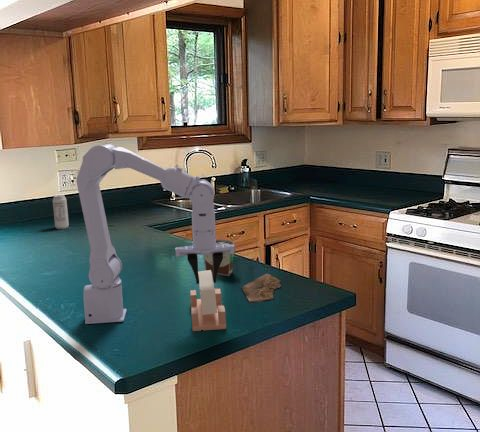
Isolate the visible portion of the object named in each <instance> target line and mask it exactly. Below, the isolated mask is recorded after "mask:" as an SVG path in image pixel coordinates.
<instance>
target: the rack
mask: <svg viewBox="0 0 480 432" xmlns="http://www.w3.org/2000/svg"><path fill="white" fill-rule="evenodd" d="M189 292H190V309H191V312H190V313H191V323H192V325H191V326H192V332H200V331H201V330H203V331H212V330H213V331H214V330H215V331H216V330H225V329H227V320H226V308H225V305H222V292H221V288H215V295H216V306H217V313H214V314H206V315H203V314H202V305H201V298H197V290H196V289H193V290H191V289H190V291H189Z"/></svg>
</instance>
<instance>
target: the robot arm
mask: <svg viewBox="0 0 480 432" xmlns="http://www.w3.org/2000/svg"><path fill="white" fill-rule="evenodd" d="M113 169H115V170H119V169H131V170H134V171H136V172H138V173H141V174H143V175H144V176H145V175H146V176H148V177H151V178H152V179H155V180H157V181H159V182H160V185H161V187H162V188H163V189H165V190H167V191H169V192H170V193H174V194H175V195H177V196H179V197H182V198H184V199H189V201H190V202H191V205H192V207H191V208H192V209H191V210H192V211H191V225H192V227H191V228H192V230H191V232H192V245H185V246H179V247H178V246H177V247H175V248H174V249H175V250H174V252H175V257H177V258H179V257H182V256H183V257H187V261H188V263H189V265H190V268H191V269H192V271H193V274H194V277H195V282H196V285H199V275H198V271H199V266H198V265H199V264H198V263H199V262H198V261H199V260H198V256H204V255H205V254H212V259H213V273H212V277H213V282H214V284H215V283H217V277H218V274H217V273H218V269H219V267H220V264H221V262H222V260H223V253H230V254H233V255H234V254H235V251H234V245H233V244H231V245H225V244H216V239H217V238H216V237H217V236H216V235H217V233H216V211H215V203H214V199H215V194H216V191H215V187H214V185H213V184H212V183H211V182H209V181H208V180H207V179H201V177H200V176H199V175H196V176H194V175H192V174H189V173H187V172H186V171H183V167H180V166H179V165H178V166H177V167H174V166H170V167H167V168H164V167H163V166H162V165H161V166H160V165H159V164H157V163H155V162H153V161H152V160H149V159H147V158H146V157H143V156H142V155H139V154H137V153H135V152H133V151H132V150H130V149H127V148H125V147H122V146H117V145H116V144H113V143H111V142H110V143H109V142H108V143H107V142H106V143H103V144H100V145H94V146H92V147H91V148H90V149H88V151H86V153H85V154H84V155H83V156H82V162H81V165H80V168H79V170H78V174H77V176H76V179H75V180H76V182H75V183H76V187H77V191H78V197H79V202H80V206H81V210H82V213H83V214H82V215H83V219H84V224H85V229H86V233H87V234H86V235H87V239H88V243H89V247H90V252H89V253H90V254H89V260H88V262H89V271H88V279H89V282H90V283H91V284H87V285H84V288H83V293H82V294H83V295H82V296H83V307H84V319H85V321H84V323H85V325H88V324H92V325H93V324H104V323H105V324H107V323H120V322H124V321H125V318H126V313H127V308H124V302H123V301H124V300H123V286H122V279H121V278H120V276H119V274H120V273H121V272H122V269H123V263H122V260H121V259H120V257H118V255H117V251H116V248H115V246H113V244H112V242H111V236H110V231H109V227H108V221H107V216H106V212H105V207H104V202H103V197H102V192H101V187H100V183H101V182H102V181H103V179H104V178H105V177H106V176H107V174H108V173H110V171H112V170H113Z"/></svg>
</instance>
